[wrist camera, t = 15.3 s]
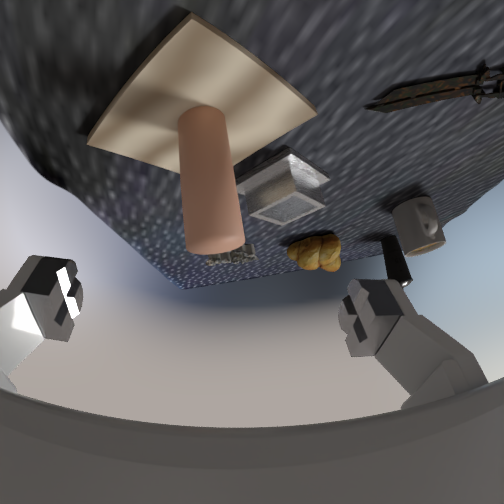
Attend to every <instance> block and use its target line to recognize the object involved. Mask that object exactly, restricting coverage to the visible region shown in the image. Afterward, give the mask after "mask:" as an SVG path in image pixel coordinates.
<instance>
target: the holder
mask: <svg viewBox="0 0 504 504" xmlns="http://www.w3.org/2000/svg"><path fill="white" fill-rule="evenodd" d="M329 180H330V177H329V174H328V173H326V172H325V171H324V170H322V169H321V168H319V167H318V166H316V165H315V164H314V163H312V162H311V161H309V160H308V159H306V158H305V157H303V156H302V155H301V154H299V153H298V152H296V151H295V150H293V149H292V148H290V147H289V148H287V149H285V150H284V151H282V152H280V153H278V154H277V155H275V156H273V157H272V158H270V159H268V160H267V161H265V162H263V163H262V164H260V165H258V166H257V167H255V168H253V169H252V170H250V171H248V172H247V173H245V174H243V175H242V176H240V177H239V178H237V179H235V182H236V188H237V192H238V193H240V194H243V195H245V197H246V202H247V208H248V213H249V215H250V216H253V217H256V218H260V219H263V220H266V221H269V222H272V223H276V224H279V225H282V226H283V225H285V224H287V223H289V222H292V221H294V220H296V219H298V218H301V217H303V216H305V215H307V214H309V213H312V212H314V211H316V210H318V209H321V208H323V207H325V206H326V205H325V202H324V198H323V195H322V192H321V188H320V185H321V184H323V183H325V182H327V181H329Z"/></svg>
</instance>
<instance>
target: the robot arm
mask: <svg viewBox="0 0 504 504" xmlns="http://www.w3.org/2000/svg"><path fill="white" fill-rule="evenodd" d="M77 272H78V270H77V267H76V263H75V262H74V261H73V260H71V259H62V258H54V257H46V256H45V257H44V256H36V255H32V256H29V257H28V259H27V260H26V262H25V263H24V264H23V266H22V267H21V268H20V270H19V271H18V273H17V274H16V276H15V277H14V279H13V280H12V282H11V283H10V285H9V286H8V288H7V289H6V290H5V289H2V290H1V291H0V504H504V377H503V378H501V379H498V380H496V381H493V382H491V383H488V381H487V379H486V377H485V375H484V373H483V371H482V369H481V367H480V366H479V364H478V362H477V360H476V358H475V356H474V354H473V353H471V352H470V351H469V350H468V349H466V348H465V347H464V346H463V345H461V344H460V343H459V342H457V341H456V340H455V339H453V338H452V337H450V336H449V335H448V334H447V333H445V332H444V331H443V330H441V329H440V328H439V327H437V326H436V325H435V324H433V323H432V322H431V321H429V320H428V319H427V318H425V317H424V316H423V315H418V314H417V312H416V311H415V309H414V307H413V305H412V304H411V302H410V300H409V299H408V297H407V295H406V294H405V292H404V291H403V289H402V287H401V286H400V284H399V282H397V281H396V280H389V279H386V280H385V279H382V280H370V279H353V280H352V281H351V282H350V284H349V286H348V288H347V290H348V293H349V295H348V296H347V297H345V298H344V299H343V300H342V302H341V304H340V307H339V314H338V318H339V323H340V326H341V329H342V330H343V331H344V332H345V333H347V334H348V335H347V337H346V340H345V341H346V344H347V346H348V349H349V352H350V355H351V357H363V356H375V358H376V359H377V360H378V361H379V362H380V363H381V364H382V365H383V367H384V368H385V369H386V370H387V371H388V372H389V373H390V374H391V375H392V376H393V377H394V378H395V379H396V380H397V381H398V382H399V383H400V384H401V385H402V386H403V388H404V389H405V390H406V391H407V392H408V393H409V394H410V395H411V396H410V397H409V398H408V399H407V400H406V401H405V402H404V403H403V405H402V406H401V410H398V411H393V412H388V413H383V414H378V415H373V416H367V417H362V418H356V419H349V420H342V421H335V422H327V423H318V424H309V425H296V426H283V427H259V428H216V427H215V428H214V427H193V426H192V427H191V426H178V425H166V424H157V423H148V422H140V421H133V420H126V419H120V418H114V417H107V416H102V415H97V414H92V413H88V412H83V411H78V410H74V409H70V408H65V407H62V406H57V405H54V404H50V403H47V402H43V401H40V400H36V399H33V398H30V397H27V396H23V395H20V394H17V390H16V387H15V386H14V384H13V383H12V382H11V381H10V380H9V378H8V377H7V376H8V375H9V374H10V373H11V372H12V371H13V370H14V369H15V368H16V367H17V366H18V365H19V364H20V363H21V362H22V361H23V360H24V359H25V358H26V357H27V356H28V355H29V354H30V353H31V352H32V351H33V350H34V349H35V348H36V347H37V346H38V345H39V344H40V343H41V342H42V341H44V338H47V339H53V340H59V341H65V342H68V340H69V338H70V335H71V333H72V330H73V327H74V322H73V319H72V318H74V317H75V316H76V315H78V314H79V312H80V310H81V307H82V301H83V289H82V286H81V283H80V282H79V281H78V280H77V278H76V277H75V276H76V274H77Z"/></svg>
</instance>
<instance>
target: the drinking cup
mask: <svg viewBox="0 0 504 504" xmlns="http://www.w3.org/2000/svg"><path fill="white" fill-rule="evenodd" d="M381 244H382V249H383V254H384V259H385V265H386V270H387V276H388V279H389V280H396V281H397V282H399V284H400V286H401V287H402V289H403V288H404V287H406V286H408V285H409V284H410V283H411V281H413V279H412V278H411V275H410V272H409V269H408V266H407V264H406V261H405V258H404V256H403V253H402V250H401V248H400V245H399V243H398V240H397V237H396V236H390V237H387V238H384V239H383V240H381Z"/></svg>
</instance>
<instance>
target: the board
mask: <svg viewBox="0 0 504 504" xmlns="http://www.w3.org/2000/svg"><path fill="white" fill-rule="evenodd" d="M199 106H210V107H214V108H217V109H219V110H220V111H221V112H222V113H223V114H224V116H225V120H226V126H227V133H228V139H229V145H230V151H231V157H232V164H233V166H234V165H235V164H237V163H239V162H240V161H242V160H243V159H245V158H246V157H248V156H249V155H251V154H253V153H254V152H256V151H257V150H259V149H261V148H262V147H264V146H265V145H267V144H269V143H270V142H272V141H273V140H275V139H277V138H278V137H280V136H282V135H283V134H285V133H287V132H288V131H290V130H292V129H293V128H295V127H297V126H299V125H300V124H302V123H304V122H305V121H307V120H309V119H311V118H312V117H314V116H316V115H318V114H317V111H316V109H315V106H314V105H313V104H312V103H311V102H309V101H308V100H307V99H306V98H305V97H304V96H303V95H302V94H301V93H299V92H298V91H297V90H296V89H295V88H294V87H293V86H291V85H290V84H289V83H288V82H287V81H286V80H284V79H283V78H282V77H281V76H280V75H278V74H277V73H276V72H275V71H274V70H272V69H271V68H270V67H269V66H267V65H266V64H265V63H264V62H262V61H261V60H260V59H258V58H257V57H256V56H255V55H253V54H252V53H251V52H249V51H248V50H247V49H245V48H244V47H243V46H241V45H240V44H238V43H237V42H236V41H234V40H233V39H231V38H230V37H229V36H227V35H226V34H224V33H223V32H221V31H220V30H218V29H217V28H216V27H214V26H213V25H211V24H210V23H208V22H206V21H205V20H203V19H202V18H200V17H199V16H197V15H195V14H194V13H192V12H191V13H190V14H189V15H188V16H187V17H186V18H185V19H183V20H182V21H181V22H180V23H179V24H178V25H177V26H176V27H175V28H174V29H173V30H172V31H171V32H170V33H169V34H168V35H167V36H166V38H165V39H164V40H163V41H162V42H161V43H160V44H159V45H158V46H157V47H156V48H155V49H154V50H153V51H152V53H151V54H150V55H149V56H148V57H147V58H146V59H145V60H144V62H143V63H142V64H141V65H140V66H139V68H138V69H137V70H136V71H135V72H134V73H133V75H132V76H131V77H130V78H129V80H128V81H127V82H126V83H125V85H124V86H123V87H122V88H121V90H120V91H119V92H118V94H117V95H116V96H115V98H114V99H113V100H112V102H111V103H110V104H109V106H108V107H107V109H106V110H105V111H104V113H103V114H102V116H101V117H100V119H99V120H98V121H97V123H96V124H95V126H94V127H93V129H92V130H91V132H90V133H89V135H88V140H87V145H90V146H94V147H97V148H101V149H104V150H107V151H111V152H114V153H117V154H121V155H124V156H127V157H130V158H134V159H137V160H140V161H143V162H146V163H149V164H152V165H156V166H159V167H162V168H165V169H168V170H171V171H174V172H177V173H180V163H179V143H178V120H179V118H180V116H181V115H182V114H183V113H184V112H186V111H187V110H189V109H191V108H194V107H199Z"/></svg>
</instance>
